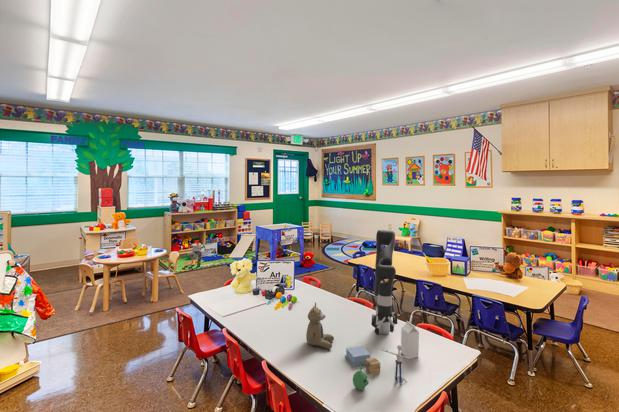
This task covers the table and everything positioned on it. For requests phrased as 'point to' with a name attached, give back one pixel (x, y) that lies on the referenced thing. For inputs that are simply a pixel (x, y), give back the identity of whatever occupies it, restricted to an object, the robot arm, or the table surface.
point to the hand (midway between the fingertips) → (384, 333)
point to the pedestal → (357, 355)
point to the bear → (317, 330)
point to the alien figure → (398, 363)
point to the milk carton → (409, 341)
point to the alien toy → (360, 379)
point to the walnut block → (373, 365)
